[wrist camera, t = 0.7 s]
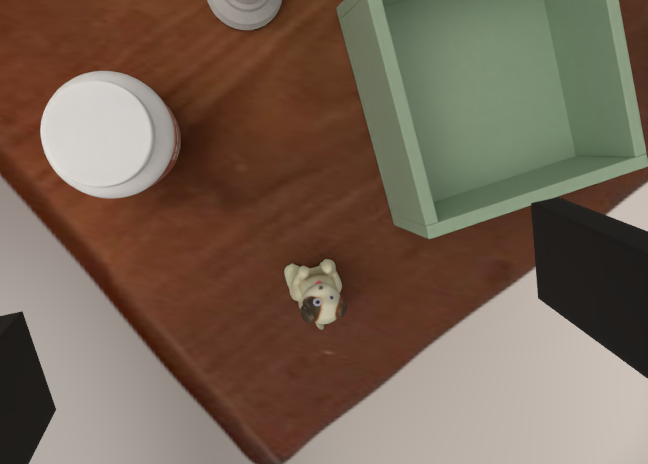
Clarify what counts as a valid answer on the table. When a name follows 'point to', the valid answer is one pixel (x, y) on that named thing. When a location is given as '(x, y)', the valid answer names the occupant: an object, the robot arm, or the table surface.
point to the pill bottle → (109, 135)
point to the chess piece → (245, 12)
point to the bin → (491, 103)
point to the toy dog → (316, 292)
